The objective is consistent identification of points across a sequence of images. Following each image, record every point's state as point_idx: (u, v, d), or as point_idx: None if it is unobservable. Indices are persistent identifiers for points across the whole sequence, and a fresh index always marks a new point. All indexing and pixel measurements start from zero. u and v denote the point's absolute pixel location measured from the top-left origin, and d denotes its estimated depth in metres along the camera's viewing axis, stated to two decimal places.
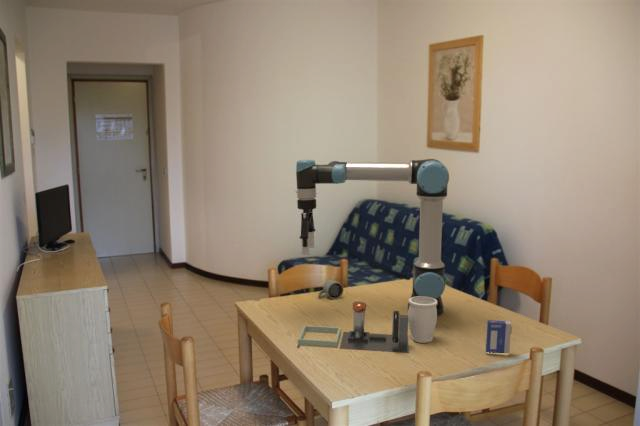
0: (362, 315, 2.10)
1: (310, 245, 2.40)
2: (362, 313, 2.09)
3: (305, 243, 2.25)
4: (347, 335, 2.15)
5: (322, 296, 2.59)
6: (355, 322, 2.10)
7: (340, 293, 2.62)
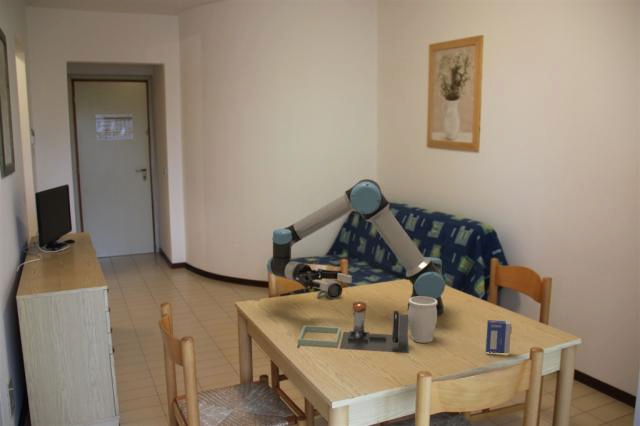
0: (362, 315, 2.10)
1: (348, 280, 2.21)
2: (362, 313, 2.09)
3: (314, 284, 2.13)
4: (347, 335, 2.15)
5: (321, 296, 2.59)
6: (355, 322, 2.10)
7: (339, 293, 2.62)
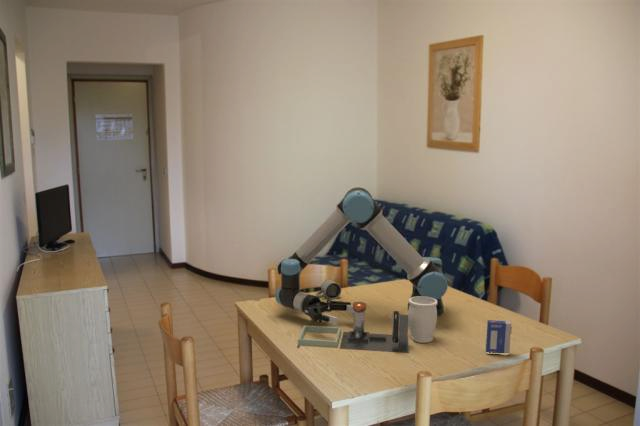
0: (362, 315, 2.10)
1: None
2: (362, 313, 2.09)
3: (324, 318, 2.11)
4: (347, 335, 2.15)
5: (320, 296, 2.59)
6: (355, 322, 2.10)
7: (338, 293, 2.62)
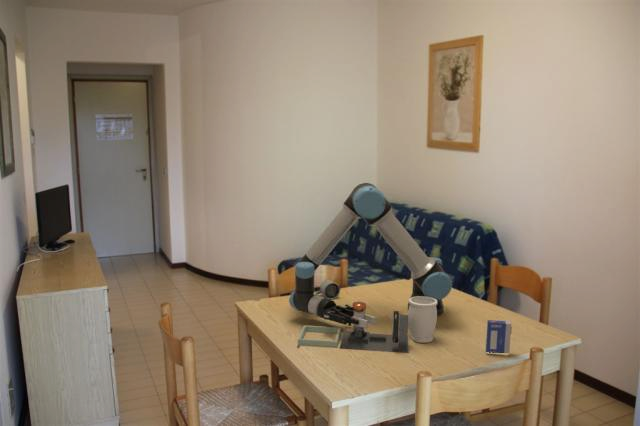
0: (362, 315, 2.10)
1: (372, 321, 2.10)
2: (362, 313, 2.09)
3: (353, 321, 2.08)
4: (347, 335, 2.15)
5: None
6: None
7: (337, 293, 2.61)
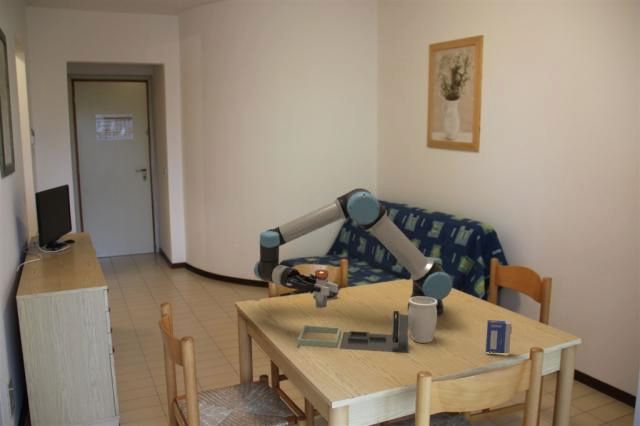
0: (324, 283, 2.06)
1: (334, 289, 2.07)
2: (324, 280, 2.06)
3: (315, 288, 2.05)
4: (347, 335, 2.15)
5: None
6: None
7: (335, 293, 2.61)
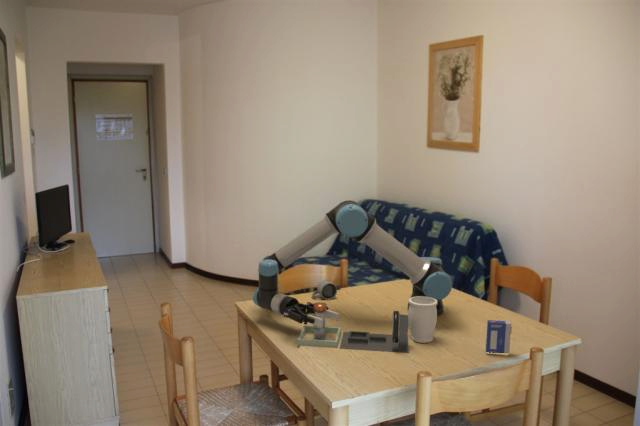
0: (322, 316, 2.09)
1: (335, 317, 2.10)
2: (322, 313, 2.09)
3: (309, 320, 2.06)
4: (347, 335, 2.15)
5: (315, 297, 2.58)
6: None
7: (334, 294, 2.61)
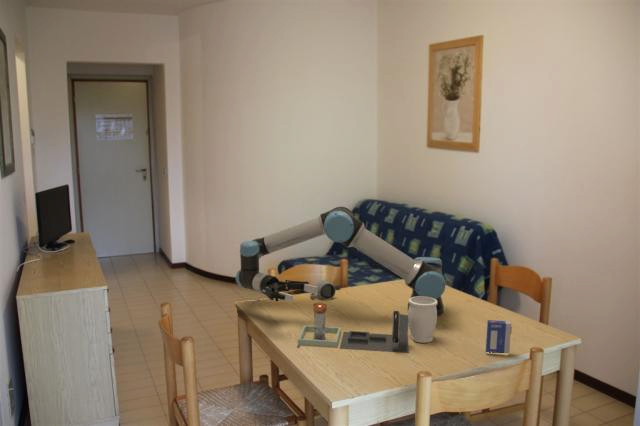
0: (322, 316, 2.08)
1: (314, 291, 2.23)
2: (322, 314, 2.08)
3: (280, 296, 2.15)
4: (347, 335, 2.15)
5: (314, 297, 2.58)
6: (315, 323, 2.09)
7: (332, 294, 2.61)
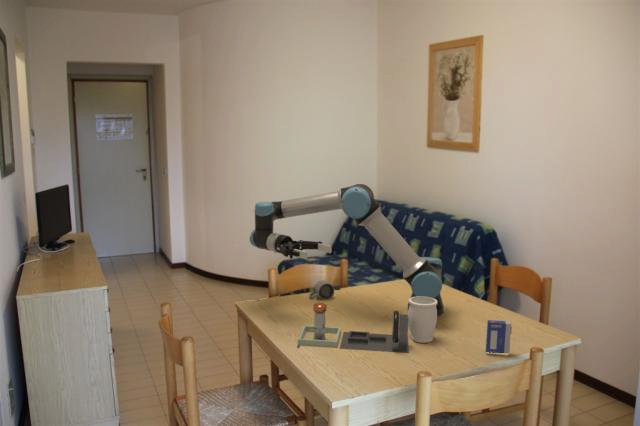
0: (322, 316, 2.08)
1: (328, 250, 2.25)
2: (322, 314, 2.08)
3: (294, 253, 2.17)
4: (347, 335, 2.15)
5: (313, 297, 2.58)
6: (315, 323, 2.09)
7: (331, 294, 2.60)
